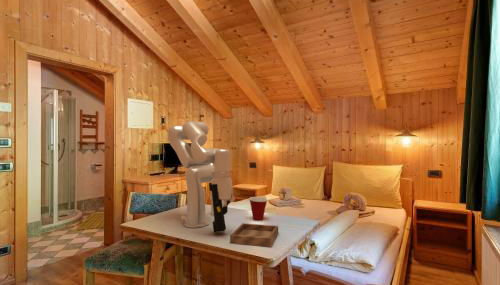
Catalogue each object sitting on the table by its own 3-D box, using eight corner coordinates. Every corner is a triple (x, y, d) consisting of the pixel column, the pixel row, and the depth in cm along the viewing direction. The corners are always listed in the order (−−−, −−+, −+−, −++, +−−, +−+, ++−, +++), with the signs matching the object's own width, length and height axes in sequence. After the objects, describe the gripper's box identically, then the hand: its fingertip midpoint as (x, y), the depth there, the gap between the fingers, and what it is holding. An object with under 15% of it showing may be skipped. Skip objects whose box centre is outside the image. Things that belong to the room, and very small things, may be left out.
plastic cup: (266, 222, 143) (266, 200, 143) (247, 221, 145) (247, 199, 145) (269, 217, 154) (268, 196, 154) (251, 216, 156) (251, 196, 156)
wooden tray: (230, 243, 113) (230, 235, 113) (242, 230, 130) (242, 223, 130) (271, 247, 108) (270, 238, 108) (278, 233, 125) (278, 225, 125)
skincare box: (220, 216, 158) (220, 198, 158) (210, 215, 160) (210, 198, 160) (227, 211, 167) (227, 195, 168) (218, 211, 170) (218, 194, 170)
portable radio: (226, 231, 122) (221, 178, 121) (213, 233, 120) (208, 180, 120) (225, 226, 129) (220, 176, 129) (213, 228, 128) (208, 177, 128)
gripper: (203, 175, 123) (202, 214, 123) (235, 176, 118) (235, 217, 118) (209, 173, 130) (209, 210, 130) (240, 174, 125) (240, 213, 125)
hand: (221, 213), depth 124 cm, fingers closed on portable radio, 2 cm apart
